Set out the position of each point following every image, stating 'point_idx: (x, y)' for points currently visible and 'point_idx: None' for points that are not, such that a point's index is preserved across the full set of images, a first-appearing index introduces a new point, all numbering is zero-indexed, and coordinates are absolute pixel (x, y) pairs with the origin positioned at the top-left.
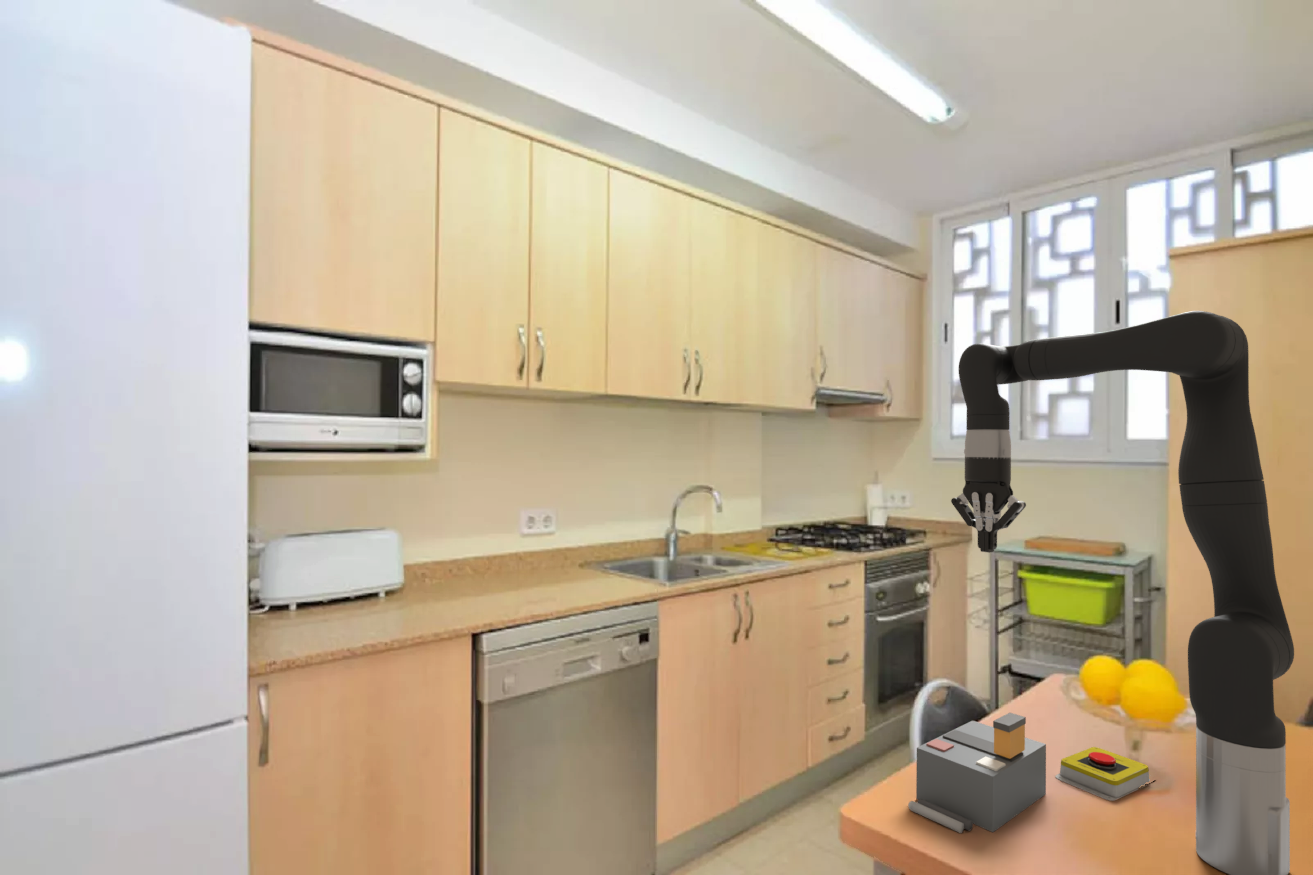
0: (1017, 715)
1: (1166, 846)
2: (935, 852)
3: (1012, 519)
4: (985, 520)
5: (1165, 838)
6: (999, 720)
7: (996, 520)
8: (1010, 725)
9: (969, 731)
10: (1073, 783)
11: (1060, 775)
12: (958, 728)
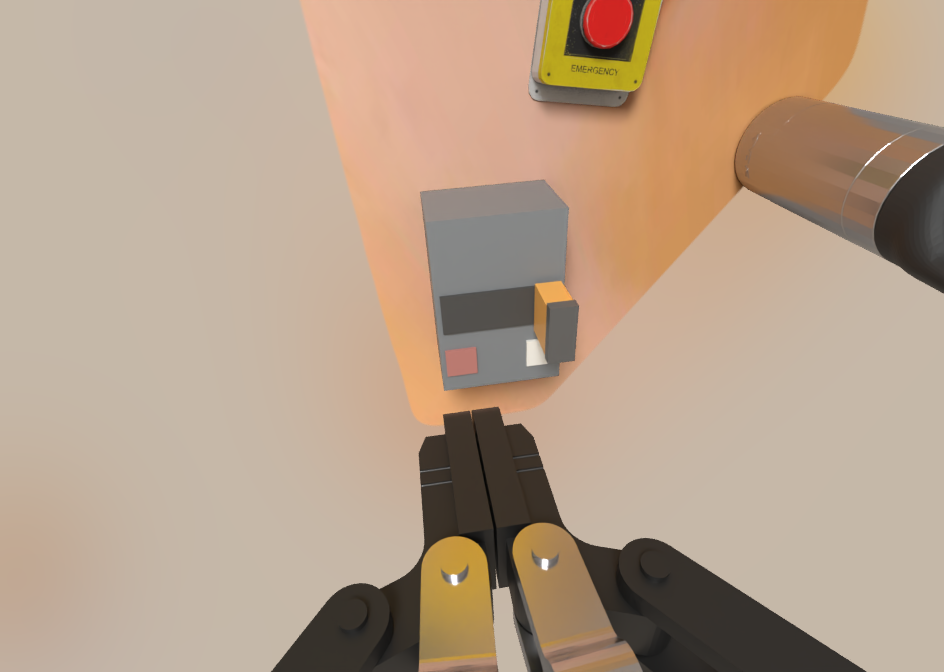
0: (565, 310)
1: (702, 183)
2: (518, 407)
3: (762, 631)
4: (474, 643)
5: (700, 161)
6: (553, 354)
7: (590, 632)
8: (574, 356)
9: (454, 275)
10: (561, 95)
11: (535, 81)
12: (434, 280)
